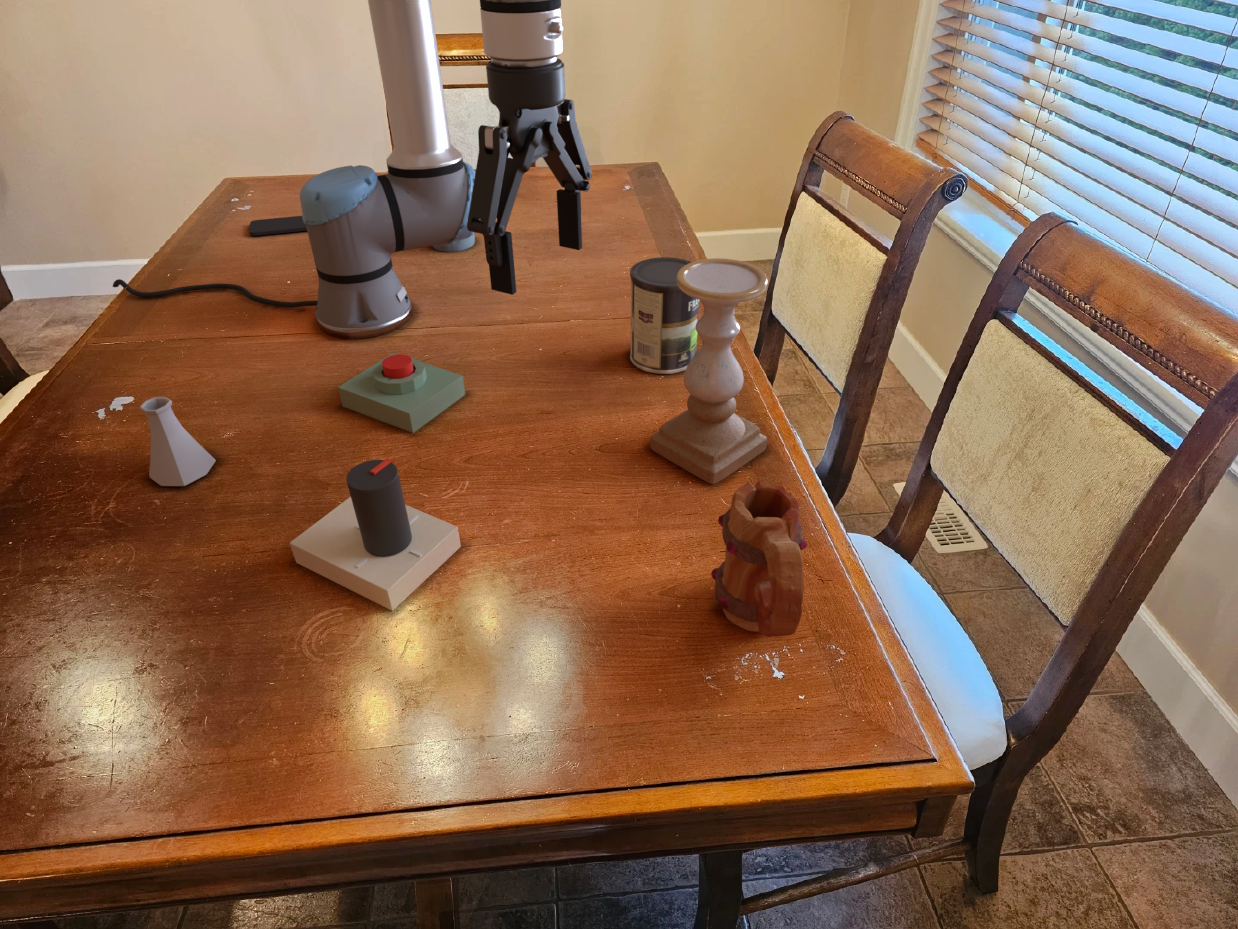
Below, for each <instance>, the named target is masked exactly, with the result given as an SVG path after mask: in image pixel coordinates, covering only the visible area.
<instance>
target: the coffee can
mask: <svg viewBox="0 0 1238 929" xmlns="http://www.w3.org/2000/svg"><path fill="white" fill-rule="evenodd" d="M691 262H692V261H690V260H687V259H684V258H679V257H668V256H664V257H663V256H661V257H659V256H658V257H652V258H647V259H644V260H640V261H639V262H636V263H635V264H633V265H632V266H631V267H630V269H629V277H630V353H629V359H630V361H631V363H632V365H633V366H634V367H636V368H638V369H640V370H641V371H644V372H647V373H651V374H658V375H672V374H678V373H682V372H685V370H686V368H687V366H688V364H689V363H690V361H691V360H692V359H693V358H694V357H695V356H696V354H697V350H698V349H697V348H698V347H697V346H698V333H697V331H696V323H697V322H698V321H699V319H700V318H699V316H700V303H701V301H700V300H698V299H695V298H692V297H690V296H688V295H687V294H685V293H684V292H682V291H681V290H680V288H679V287H678V285H677V282H676V276H677V273H678V271H679V270H680V269H681V268H682V267H683V266H685V265H687V264H689V263H691Z"/></svg>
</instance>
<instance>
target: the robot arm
mask: <svg viewBox="0 0 1238 929" xmlns="http://www.w3.org/2000/svg"><path fill="white" fill-rule="evenodd" d="M367 2H368V10H369V15H370V20H371V26H372V32H373V37H374V44H375V50H376V53H377V54H376V55H377V60H378V65H379V66H378V67H379V71H380V77H381V83H382V87H383V93H384V99H385V104H386V110H387V116H388V121H389V127H390V132H391V138H392V144H393V149H392V151H391V153H390V154H389V155H388V157H387V158H386V167H387V173H386V174H381V175H378V174H377V172H376V171H375V170H374V169H373V168H372V167H370V166H367V165H361V164H360V165H359V164H358V165H355V166H353V165H346V166H341V167H335V168H331V169H329V170H326V171H323V172H321V173H318V174H316V175H314V176H313V177H311V178H310V179H308V180H307V181H306V182H305V183H304V184H303V185H302V187H301V188H300V192H299V201H300V207H301V212H302V215H301V216H302V219H303V222H304V223H305V224H306V227H307V235H308V239H309V244H310V248H311V252H312V257H313V261H314V265H315V269H316V273H317V277H318V288H317V300H303V301H302V300H301V301H282V300H281V301H280V300H274V299H269V298H265V297H261V296H258V295H255V294H253V293H252V292H250V290H248V289H246V288H245V287H243V286H242V285H238V284H235V283H223V282H221V283H206V284H196V285H185V286H180V287H174V288H173V287H172V288H169V289H168V288H167V289H164V290H158V291H139V290H136V289H134V288H132V286H130V285H129V284H128V283H127V282H126V281H125V280H123V279H120V278H118V279H116V280H115V281H114V282H113V283H112V288H119V286H121V287H122V288H123V289H124V290H126V291H127V292H128V293H130V294H131V295H132V296H135V297H138V298H157V297H159V298H160V297H165V296H169V295H174V294H180V293H185V292H194V291H204V290H217V289H221V290H222V289H223V290H224V289H226V290H235V291H239V292H240V293H242V294H244V296H246V297H247V298H248V299H250V300H252V301H254V302H257V303H261V304H265V305H268V306H274V307H279V308H280V307H281V308H302V307H315V318H316V322H317V326H318V328H319V330H321V331H322V332H323V333H325V334H327V335H328V336H332V337H336V338H340V339H350V340H352V339H353V340H355V339H368V338H374V337H379V336H383V335H386V334H390V333H391V332H394V331H396V330H398V329H400V328H401V327H403V326H405V325H406V324H407V323H408V322H409V321H410V320H411V318H412V316H413V307H412V302H411V298H410V296H409V295H408V292H407V290H406V288H405V286H404V285H403V283H402V282H401V280H400V279H399V276H398V275H397V273H396V271H395V270H394V266H393V261H392V260H393V259H392V254H393V253H398V252H399V253H400V252H406V251H410V250H411V251H412V250H416V249H421V248H426V247H432V245H438V244H444V243H445V244H450V243H452V242H454V241H458V240H462V239H466V238H469V237H470V236H472V235H473V234H474V235H475V233H476V234H480V235H482V237H483V241H484V243H483V244H484V250H485V251H484V252H485V259H486V262H487V263H486V264H488V270H489V278H490V288H491V290H492V291H495V292H498V293H499V292H500V293H504V294H507V295H511V296H512V295H515V294H516V293H517V280H516V272H515V271H516V270H515V259H514V247H513V237H512V236H513V235H512V232H511V231H507V228H508V225H509V224H508V223H509V221H510V218H511V215H512V212H513V208H514V205H515V202H516V199H517V197H518V196H517V195H518V193H519V189H520V186H521V183H522V180H523V177H524V175H525V173H527V172H529V170H530V168H531V166H532V164H533V163H535V162H537V161H538V160H539V159H540V158H542V159H543V160H544V162H545V163H546V165H547V167H548V168H549V170H550V172H551V173H552V174H553V176H554V177H555V179H556V181H557V182H558V183H559V185H560V187H562V189H561V188H559V189H558V190H556V206H557V207H556V208H557V210H556V211H557V225H558V226H557V227H558V246H559V247H562V248H566V249H570V250H576V251H580V250H581V249H583V233H582V232H583V230H582V196H581V195H582V194H581V193H582V192H589V190H590V187H591V183H590V180H591V179H592V176H593V172H592V168H591V165H590V162H589V159H588V154H587V152H586V149H585V146H584V142H583V139H582V136H581V133H580V129H579V127H578V123H577V119H576V107H575V101H574V100H573V99H568V98H566V80H565V79H566V78H565V75H566V74H565V63H564V62H563V61H562V59H561V58H559V56H561V55H562V53H563V52H564V43H563V31H564V25H563V22H562V0H479V6H480V8H479V9H480V21H481V32H482V45H483V53H484V55H485V56H486V57H488V58H489V59H490V60H489V61H488V62H487V64H486V66H485V71H486V82H487V91H488V99H489V101H490V103H491V104H492V105H494V106H495V107H496V108H497V110H498V113H499V116H498V118H499V119H498V125H496V126H492V125H485V124H481V125H480V126H479V127H478V130H477V133H478V135H477V136H478V138H477V139H478V155H477V160H476V161H477V162H476V166H475V169H474V167H473V166H472V165H471V164H470V163H468V162H465V161H464V160H463V159H464V158H463V153H462V152H461V151H460V150H459V149H457V148H456V147H455V146H454V145H453V144H452V142H451V136H450V135H451V134H450V128H449V120H448V114H447V107H446V106H447V105H446V100H445V92H444V86H443V78H442V71H441V64H440V56H439V50H438V44H437V43H438V42H437V35H436V29H435V22H434V14H433V7H432V0H367ZM509 155H510V156H511V157H509ZM563 188H564V189H563ZM126 287H127V288H126ZM125 288H126V289H125Z"/></svg>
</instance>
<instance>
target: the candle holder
mask: <svg viewBox="0 0 1238 929" xmlns="http://www.w3.org/2000/svg"><path fill="white" fill-rule="evenodd" d="M690 262H691V263H689V264H687V265H685V266H683V267H682V268H681V269H680V270H679V271H678V273H677V276H676V282H677V285H678V287H679V288H680V290H681V291H682V292H684V293H685V294H687V295H688V296H690V297H692V298H695V299H698V300H700V303H701V304H702V307H703V314H702V316H701V317H700V318H699V319H698V322H697V323H696V331H697V335H698V336H699V338H700V340H701V342H702V345H701V346H700V348H699V350H698V352H696V356H695V357H694V358H693V359H692V360H691V361H690V363H689V364H688V366H687V368H686V370H685V371H684V374H683V383H684V387H685V389H686V390H687V392H688V393H689V394H690V395H689V396H688V398H687V402H686V407H687V409H686V410H684V411H682V412H680V413H679V414H678V415H676V416H674V417H672V418H671V419H669V420H668V421H666V422H665V423H663V424H662V425H661V426H660V428H658V431H657V432H656V433H654V434H653V435H651V436H650V446H649V447H650V450H652V451H653V452H654V453H657V454H658V455H659V456H661V457H662V458H664V459H666V460H668V461H670V462H671V463H673V464H675V465H676V466H678V467H679V468H681V469H683V470H685V471H686V472H688V473H690V474H692V475H694V476H695V477H697V478H699V479H701V480H703V482H706V483H708V484H710V485H716V484H717V483H720V482H721V481H722V480H724V479H726V478H727V477H728V476H730V475H732V474H733V473H734V472H736V471H738V469H740V468H742V467H743V466H745V465H747V463H749V462H750V461H752V460H753V459H755V458H756V457H758V456H759V455H760V454H762V453H763V452H764V451H766V449H767V443H768V437H767V436H766V435H764V434H762V433H761V428H760V427H759V426H758V425H756V424H755V423H754V422H751V421H750V420H748V419H746V418H744V417H742V416H740V415H738V414H737V413H735V412H736V409H737V402H736V398H735V397H737V395H738V394H739V393H740V392H741V391H742V389H743V386H744V381H745V378H744V375H745V374H744V372H743V369H742V366H741V365H740V363H739V361H738V360H737V358H736V357H735V355H734V352H733V350H732V347H731V345H732V343H733V341H734V340H735V339H736V337H737V336H738V335H739V334H740V332H741V325H740V324H739V322H738V321H737V319H736V316H735V311H736V308H737V306H738V305H739V304H741V303H745V302H748V301H751V300H754V299H757V298H758V297H760V296H761V295H762V294H764V292H765V291H766V290H767V288H768V282H769V280H768V276H767V274H766V273H765V271H763V269H761V268H760V267H758V266H756V265H754V264H752V263H749V262H747V261H743V260H738V259H733V258H732V259H731V258H720V257H719V258H704V259H698V260H694V261H690Z"/></svg>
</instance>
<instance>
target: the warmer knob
mask: <svg viewBox="0 0 1238 929" xmlns="http://www.w3.org/2000/svg"><path fill="white" fill-rule="evenodd" d="M345 478H346V484H347V488H348V492H349V495H350V496H349V497H351V499H352V503H353V507H354V510H355V514H356V518H357V522H358V525H359V529H360V533H361V536H362V540H363V544H364V547H365V549H366V551H367V552H368V553H370V554H371V555H374V556H379V557H387V556H392V555H395V554H398V553H400V552H402V551H403V550H405V549H406V548H407V547H408V546H409V544H410V543H411V540H412V534H411V529H410V525H409V520H408V515H407V511H406V506H405V505H406V502H405V497H404V493H403V489H402V484H401V480H400V474H399V470H398V468H397V465H395V464H394V463H393V462H392V459H389V458H386V459H370V460H366V461H363V462H360V463H358V464H356V465H355V466H353V467H352V468H351V469H350V470H349V471H348V473H347V475H346V477H345Z"/></svg>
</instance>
